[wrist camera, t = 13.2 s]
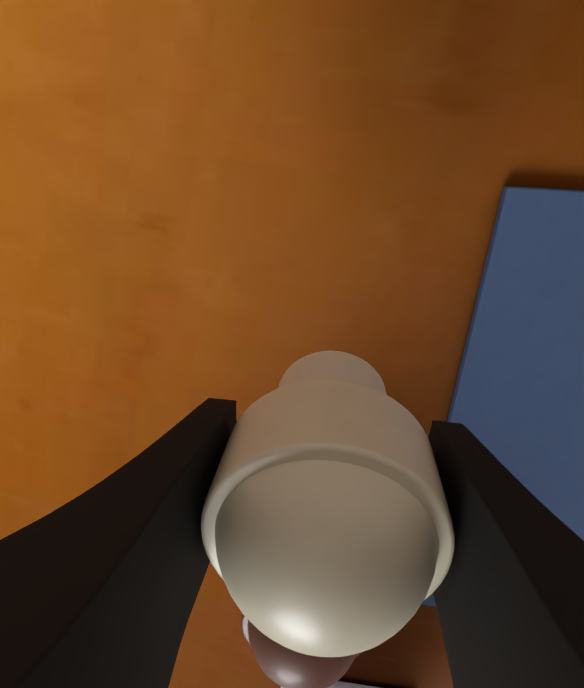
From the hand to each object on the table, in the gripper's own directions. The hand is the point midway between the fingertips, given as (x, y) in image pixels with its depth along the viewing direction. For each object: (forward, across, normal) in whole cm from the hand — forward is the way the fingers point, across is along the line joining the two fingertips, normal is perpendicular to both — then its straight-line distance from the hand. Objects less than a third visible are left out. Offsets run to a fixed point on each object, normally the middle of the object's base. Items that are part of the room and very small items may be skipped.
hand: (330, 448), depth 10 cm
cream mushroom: (+2, 0, 0) cm, 2 cm away
